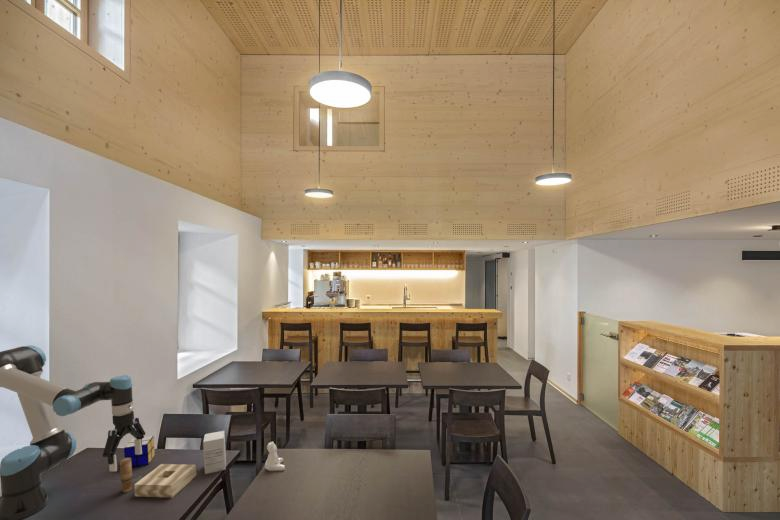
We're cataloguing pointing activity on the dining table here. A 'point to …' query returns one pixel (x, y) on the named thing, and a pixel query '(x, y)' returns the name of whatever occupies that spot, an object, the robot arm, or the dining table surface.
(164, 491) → the board
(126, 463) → the peg
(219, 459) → the supplement box
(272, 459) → the sitting furry creature
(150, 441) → the puzzle cube
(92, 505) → the dining table surface
